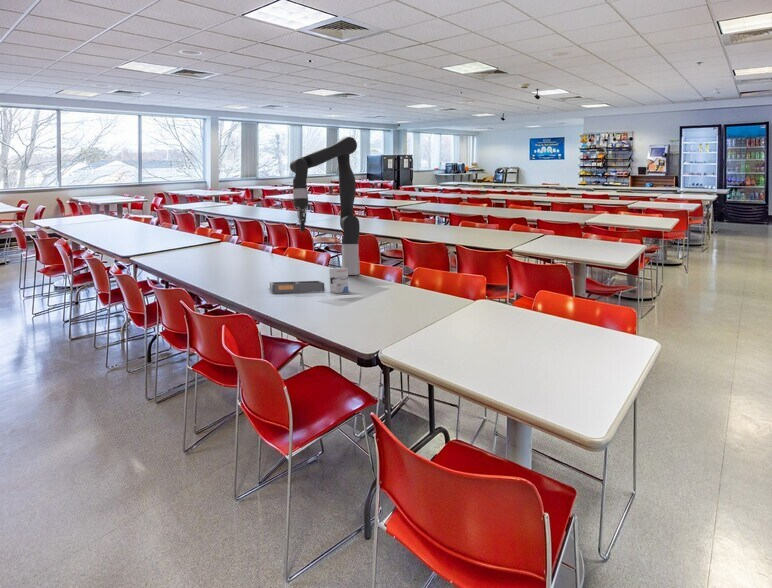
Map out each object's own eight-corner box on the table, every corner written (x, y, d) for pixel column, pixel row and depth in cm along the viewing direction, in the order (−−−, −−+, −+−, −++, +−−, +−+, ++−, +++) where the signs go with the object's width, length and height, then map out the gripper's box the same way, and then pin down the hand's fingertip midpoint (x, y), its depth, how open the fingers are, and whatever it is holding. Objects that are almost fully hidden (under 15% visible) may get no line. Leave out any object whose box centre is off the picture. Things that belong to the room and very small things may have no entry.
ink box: (341, 291, 240) (341, 267, 239) (348, 291, 237) (348, 267, 235) (329, 292, 233) (328, 268, 232) (336, 293, 230) (335, 268, 229)
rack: (318, 289, 249) (318, 280, 249) (324, 291, 236) (324, 282, 236) (269, 290, 241) (269, 282, 240) (272, 293, 228) (272, 284, 228)
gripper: (310, 196, 245) (312, 230, 247) (305, 198, 258) (307, 231, 260) (295, 197, 243) (297, 231, 245) (291, 199, 255) (293, 231, 257)
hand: (302, 231), depth 252 cm, fingers closed
